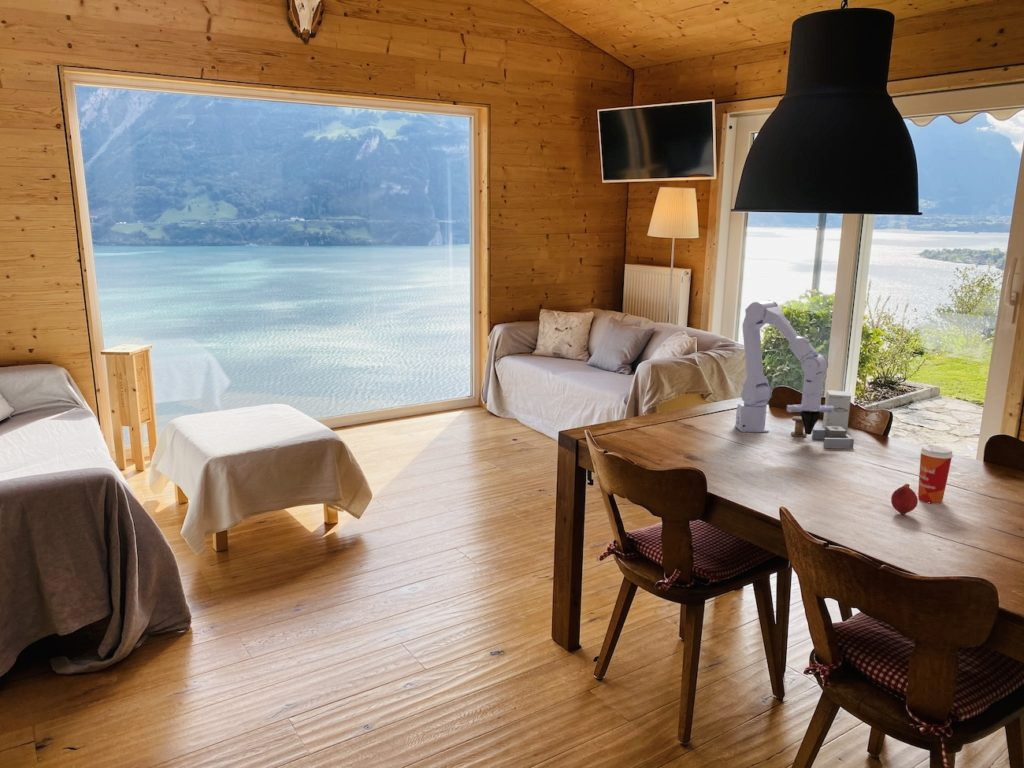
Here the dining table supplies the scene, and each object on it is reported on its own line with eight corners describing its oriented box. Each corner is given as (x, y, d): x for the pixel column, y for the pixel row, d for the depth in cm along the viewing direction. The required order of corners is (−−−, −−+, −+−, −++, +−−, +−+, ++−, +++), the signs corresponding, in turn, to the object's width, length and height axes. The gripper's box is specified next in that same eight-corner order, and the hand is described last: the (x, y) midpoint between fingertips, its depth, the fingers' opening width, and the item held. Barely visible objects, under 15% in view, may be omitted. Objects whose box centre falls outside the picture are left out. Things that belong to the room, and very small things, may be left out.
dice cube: (839, 441, 251) (841, 426, 250) (844, 445, 247) (846, 430, 245) (824, 440, 252) (825, 426, 251) (828, 445, 247) (830, 430, 246)
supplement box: (824, 429, 264) (828, 394, 261) (822, 424, 271) (826, 389, 268) (847, 431, 262) (851, 395, 259) (845, 426, 269) (848, 391, 266)
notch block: (824, 447, 244) (825, 438, 243) (811, 437, 255) (812, 429, 254) (853, 448, 244) (854, 439, 243) (839, 438, 254) (840, 429, 254)
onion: (903, 520, 187) (907, 489, 185) (884, 511, 192) (887, 481, 190) (920, 516, 189) (924, 486, 187) (900, 508, 194) (904, 478, 193)
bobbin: (793, 437, 255) (795, 420, 253) (788, 433, 259) (790, 416, 258) (808, 437, 255) (810, 420, 253) (803, 433, 259) (805, 416, 258)
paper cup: (908, 494, 204) (914, 443, 201) (937, 494, 204) (944, 444, 201) (922, 505, 197) (929, 453, 193) (953, 505, 196) (960, 453, 193)
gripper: (793, 395, 242) (789, 436, 245) (839, 396, 242) (835, 437, 245) (786, 390, 249) (782, 430, 252) (831, 391, 248) (826, 431, 251)
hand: (807, 433), depth 249 cm, fingers closed
